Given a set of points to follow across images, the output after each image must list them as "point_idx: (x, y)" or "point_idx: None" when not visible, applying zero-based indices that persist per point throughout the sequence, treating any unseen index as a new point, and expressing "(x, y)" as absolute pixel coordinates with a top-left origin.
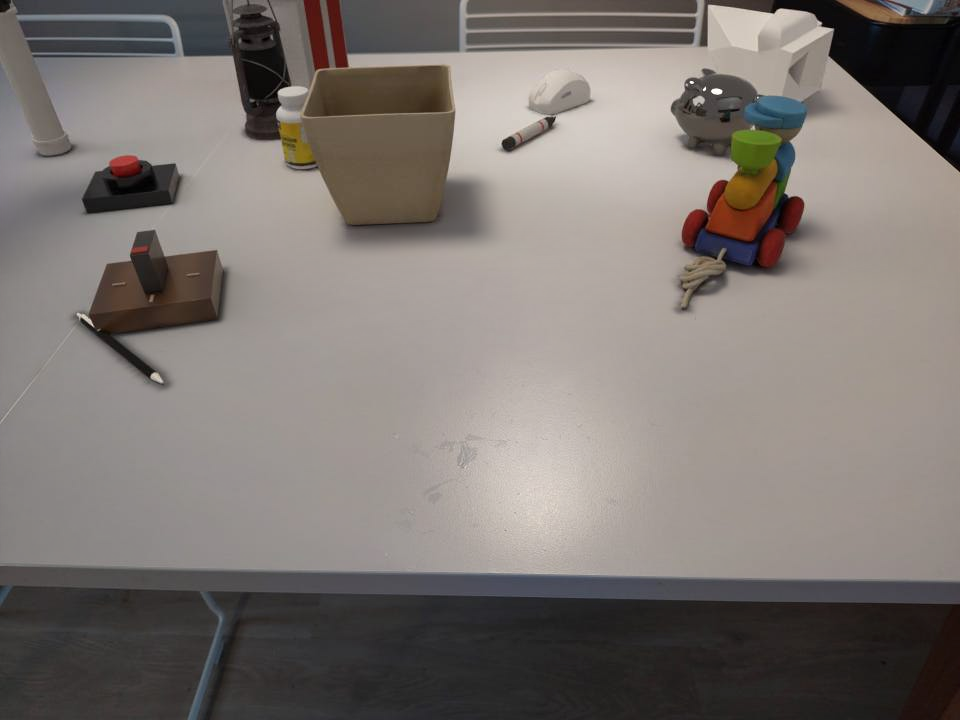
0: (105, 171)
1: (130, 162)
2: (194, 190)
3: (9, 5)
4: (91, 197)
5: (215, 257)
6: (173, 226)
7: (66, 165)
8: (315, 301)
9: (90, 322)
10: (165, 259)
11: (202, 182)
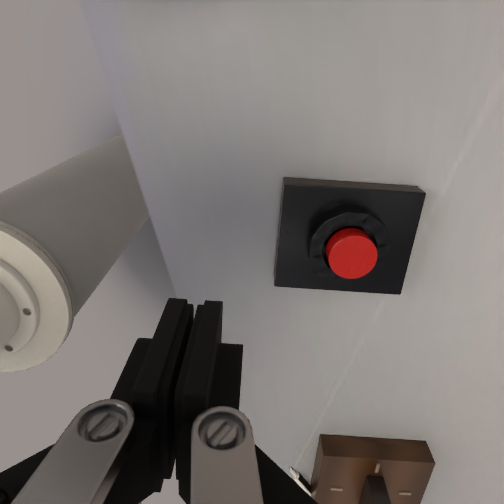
0: (315, 249)
1: (364, 270)
2: (431, 249)
3: (221, 304)
4: (288, 284)
5: (430, 473)
6: (387, 344)
7: (206, 52)
8: (491, 499)
9: (305, 491)
10: (385, 485)
11: (449, 223)
